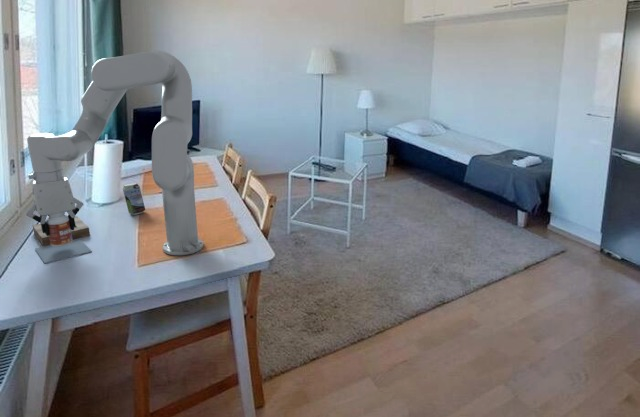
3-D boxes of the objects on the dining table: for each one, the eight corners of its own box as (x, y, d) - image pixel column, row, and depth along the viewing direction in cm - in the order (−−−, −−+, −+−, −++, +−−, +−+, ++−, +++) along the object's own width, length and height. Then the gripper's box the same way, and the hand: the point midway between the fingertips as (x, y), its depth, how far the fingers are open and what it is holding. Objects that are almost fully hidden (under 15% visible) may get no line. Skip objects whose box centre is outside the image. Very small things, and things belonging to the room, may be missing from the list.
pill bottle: (64, 248, 138) (57, 214, 134) (46, 246, 139) (39, 212, 135) (77, 240, 144) (71, 207, 140) (60, 238, 145) (53, 206, 141)
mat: (91, 252, 142) (91, 250, 142) (44, 264, 134) (44, 262, 134) (79, 239, 151) (79, 238, 151) (35, 249, 143) (35, 248, 143)
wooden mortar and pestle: (90, 235, 154) (82, 191, 149) (43, 246, 145) (33, 199, 140) (74, 219, 168) (66, 178, 162) (30, 228, 159) (21, 185, 153)
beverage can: (139, 217, 171) (136, 186, 167) (122, 215, 173) (118, 185, 169) (149, 211, 177) (145, 182, 173) (132, 210, 178) (128, 180, 174)
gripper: (17, 183, 126) (30, 242, 132) (84, 173, 137) (93, 228, 143) (12, 177, 131) (25, 234, 137) (77, 168, 142) (86, 221, 148)
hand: (59, 231), depth 140 cm, fingers closed on pill bottle, 6 cm apart
